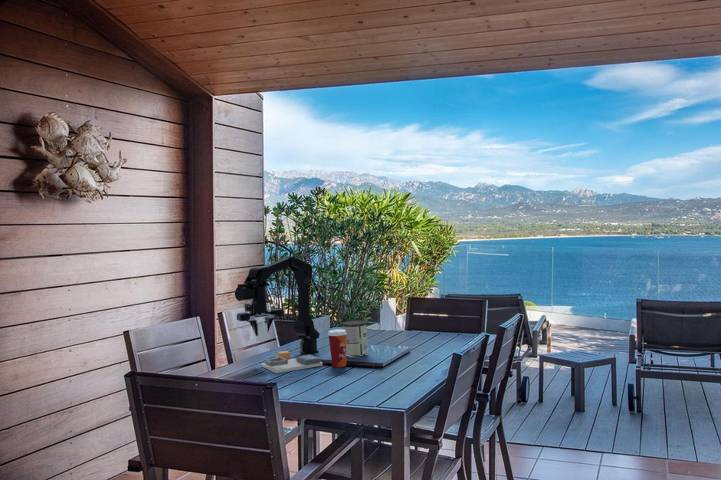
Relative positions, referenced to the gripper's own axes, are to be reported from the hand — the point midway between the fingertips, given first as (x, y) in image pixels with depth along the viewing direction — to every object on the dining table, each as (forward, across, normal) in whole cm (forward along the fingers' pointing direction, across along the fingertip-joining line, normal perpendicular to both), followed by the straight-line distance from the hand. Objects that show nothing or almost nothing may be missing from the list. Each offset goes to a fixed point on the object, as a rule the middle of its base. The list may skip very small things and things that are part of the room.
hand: (261, 335), depth 280 cm
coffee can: (+12, -38, +11) cm, 41 cm away
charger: (+2, 0, 0) cm, 2 cm away
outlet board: (+12, -8, +12) cm, 19 cm away
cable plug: (+12, -9, -3) cm, 15 cm away
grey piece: (+11, -14, +15) cm, 23 cm away
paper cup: (+12, -23, +25) cm, 36 cm away
